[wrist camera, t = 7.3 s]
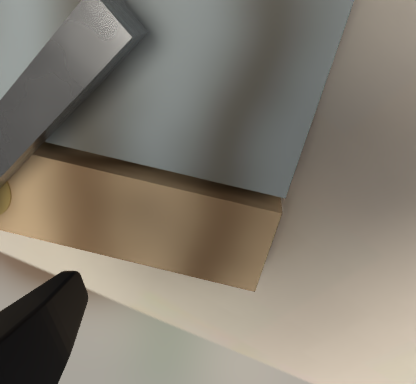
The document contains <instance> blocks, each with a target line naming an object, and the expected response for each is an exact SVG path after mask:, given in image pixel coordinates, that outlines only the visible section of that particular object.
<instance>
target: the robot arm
mask: <svg viewBox="0 0 416 384" xmlns="http://www.w3.org/2000/svg"><path fill="white" fill-rule="evenodd" d="M87 302H88V293H87V290H86V288H85V285H84V283H83V280H82V277H81V275H80V273H79V272H77V271H63V272H61V273H59V274H57V275H56V276H54V277H53V278H51V279H50V280H48V281H47V282H45V283H44V284H42V285H41V286H39V287H37V288H36V289H34V290H33V291H31V292H30V293H28V294H27V295H25V296H23V297H22V298H20V299H19V300H17V301H16V302H14V303H13V304H11V305H10V306H8V307H6V308H5V309H4V310H2V311H0V384H58V382H59V380H60V377H61V375H62V373H63V371H64V368H65V366H66V364H67V361H68V359H69V356H70V354H71V351H72V348H73V345H74V342H75V339H76V336H77V333H78V330H79V327H80V324H81V321H82V317H83V315H84V311H85V308H86V305H87Z"/></svg>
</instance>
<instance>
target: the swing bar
mask: <svg viewBox="0 0 416 384" xmlns="http://www.w3.org/2000/svg"><path fill="white" fill-rule="evenodd" d="M148 33H149V31H148V30H147V29H146V28H145V27H144V26H143V24H142V23H141V22H140V21H139V20H138V18H137V17H136V16H135V15H134V14H133V12H132V11H131V10H130V9H129V8H128V7H127V5H126V4H125V3H124V2H123V1H122V0H81V1H80V3H79V4H78V5H77V6H76V7H75V9H74V10H73V11H72V12H71V14H70V15H69V16H68V17H67V19H66V20H65V21H64V22H63V24H62V25H61V26H60V27H59V28H58V30H57V31H56V32H55V33H54V35H53V36H52V37H51V38H50V40H49V41H48V42H47V43H46V44H45V46H44V47H43V48H42V49H41V51H40V52H39V53H38V54H37V56H36V57H35V58H34V59H33V60H32V62H31V63H30V64H29V65H28V67H27V68H26V69H25V70H24V72H23V73H22V74H21V75H20V76H19V78H18V79H17V80H16V81H15V83H14V84H13V85H12V86H11V88H10V89H9V90H8V91H7V92H6V94H5V95H4V96H3V97H2V99H1V100H0V188H1V187H2V186H3V185H4V184H5V182H6V181H7V180H8V179H9V178H10V177H11V176H12V175H13V174H14V173H15V172H16V171H17V170H18V169H19V168H20V167H21V166H22V165H23V164H24V163H25V162H26V161H27V160H28V158H29V157H30V156H31V155H32V154H33V153H34V152H35V151H36V150H37V149H38V148H39V147H40V146H41V145H42V144H43V143H44V142H45V141H46V140H47V139H48V138H49V137H50V136H51V134H52V133H53V132H54V131H55V130H56V129H57V128H58V127H59V126H60V125H61V124H62V123H63V122H64V121H65V120H66V119H67V118H68V117H69V116H70V115H71V114H72V113H73V112H74V110H75V109H76V108H77V107H78V106H79V105H80V104H81V103H82V102H83V101H84V100H85V99H86V98H87V97H88V96H89V95H90V94H91V93H92V92H93V91H94V90H95V89H96V88H97V86H98V85H99V84H100V83H101V82H102V81H103V80H104V79H105V78H106V77H107V76H108V75H109V74H110V73H111V72H112V71H113V70H114V69H115V68H116V67H117V66H118V65H119V64H120V62H121V61H122V60H123V59H124V58H125V57H126V56H127V55H128V54H129V53H130V52H131V51H132V50H133V49H134V48H135V47H136V46H137V45H138V44H139V43H140V42H141V41H142V40H143V38H144V37H145V36H146V35H147V34H148Z"/></svg>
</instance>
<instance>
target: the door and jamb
mask: <svg viewBox="0 0 416 384" xmlns="http://www.w3.org/2000/svg"><path fill="white" fill-rule="evenodd" d="M80 1H81V0H0V100H1V99H2V97H3V96H4V95H5V94H6V92H7V91H8V90H9V89H10V88H11V86H12V85H13V84H14V83H15V81H16V80H17V79H18V78H19V76H20V75H21V74H22V73H23V72H24V70H25V69H26V68H27V67H28V65H29V64H30V63H31V62H32V60H33V59H34V58H35V57H36V56H37V54H38V53H39V52H40V51H41V49H42V48H43V47H44V46H45V44H46V43H47V42H48V41H49V40H50V38H51V37H52V36H53V35H54V33H55V32H56V31H57V30H58V28H59V27H60V26H61V25H62V24H63V22H64V21H65V20H66V19H67V17H68V16H69V15H70V14H71V12H72V11H73V10H74V9H75V7H76V6H77V5H78V4H79V3H80ZM122 1H123V2H124V3H125V4H126V5H127V7H128V8H129V9H130V10H131V11H132V12H133V14H134V15H135V16H136V17H137V18H138V20H139V21H140V22H141V23H142V24H143V26H144V27H145V28H146V29H147V30H148V31H149V33H148V34H147V35H146V36H145V37H144V38H143V40H142V41H141V42H140V43H139V44H138V45H137V46H136V47H135V48H134V49H133V50H132V51H131V52H130V53H129V54H128V55H127V56H126V57H125V58H124V59H123V60H122V61H121V62H120V64H119V65H118V66H117V67H116V68H115V69H114V70H113V71H112V72H111V73H110V74H109V75H108V76H107V77H106V78H105V79H104V80H103V81H102V82H101V83H100V84H99V85H98V86H97V88H96V89H95V90H94V91H93V92H92V93H91V94H90V95H89V96H88V97H87V98H86V99H85V100H84V101H83V102H82V103H81V104H80V105H79V106H78V107H77V108H76V109H75V110H74V112H73V113H72V114H71V115H70V116H69V117H68V118H67V119H66V120H65V121H64V122H63V123H62V124H61V125H60V126H59V127H58V128H57V129H56V130H55V131H54V132H53V133H52V134H51V136H50V137H49V138H48V139H47V140H46V141H45V142H44V143H43V144H42V145H41V146H40V147H39V148H38V149H37V150H36V151H35V152H34V153H33V154H32V155H31V156H30V157H29V158H28V160H27V161H26V162H25V163H24V164H23V165H22V166H21V167H20V168H19V169H18V170H17V171H16V172H15V173H14V174H13V175H12V176H11V177H10V178H9V179H8V180H7V181H6V182H5V184H4V185H3V186H2V187H1V188H0V230H2V231H6V232H10V233H15V234H19V235H23V236H27V237H31V238H35V239H39V240H43V241H48V242H52V243H56V244H60V245H64V246H68V247H72V248H76V249H81V250H85V251H89V252H93V253H97V254H101V255H105V256H109V257H113V258H118V259H122V260H126V261H130V262H134V263H138V264H142V265H146V266H151V267H155V268H159V269H163V270H167V271H171V272H175V273H179V274H184V275H188V276H192V277H196V278H200V279H204V280H208V281H212V282H217V283H221V284H225V285H229V286H233V287H237V288H241V289H245V290H250V291H254V292H255V290H256V287H257V284H258V281H259V278H260V275H261V272H262V270H263V267H264V264H265V261H266V258H267V255H268V252H269V250H270V247H271V244H272V241H273V238H274V235H275V233H276V230H277V227H278V224H279V221H280V218H281V215H282V207H281V198H286V195H287V193H288V190H289V187H290V184H291V181H292V178H293V175H294V172H295V170H296V167H297V164H298V161H299V158H300V155H301V152H302V149H303V146H304V144H305V141H306V138H307V135H308V132H309V129H310V126H311V123H312V121H313V118H314V115H315V112H316V109H317V106H318V103H319V100H320V98H321V95H322V92H323V89H324V86H325V83H326V80H327V77H328V74H329V72H330V69H331V66H332V63H333V60H334V57H335V54H336V51H337V49H338V46H339V43H340V40H341V37H342V34H343V31H344V28H345V26H346V23H347V20H348V17H349V14H350V11H351V8H352V5H353V2H354V0H122Z"/></svg>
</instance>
